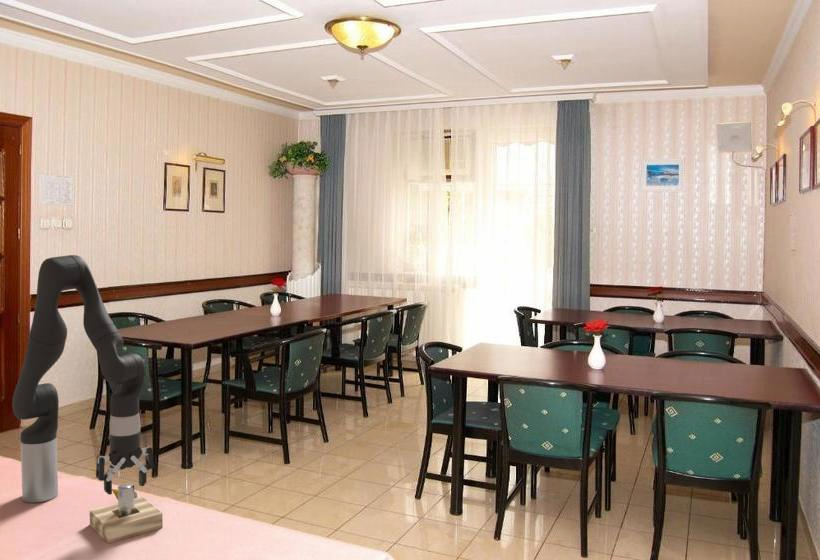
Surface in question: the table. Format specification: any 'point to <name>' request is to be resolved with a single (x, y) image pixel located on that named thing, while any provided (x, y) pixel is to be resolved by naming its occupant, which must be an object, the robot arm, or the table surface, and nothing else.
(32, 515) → the table surface
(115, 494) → the drill bit
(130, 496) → the pin
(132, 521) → the socket block
